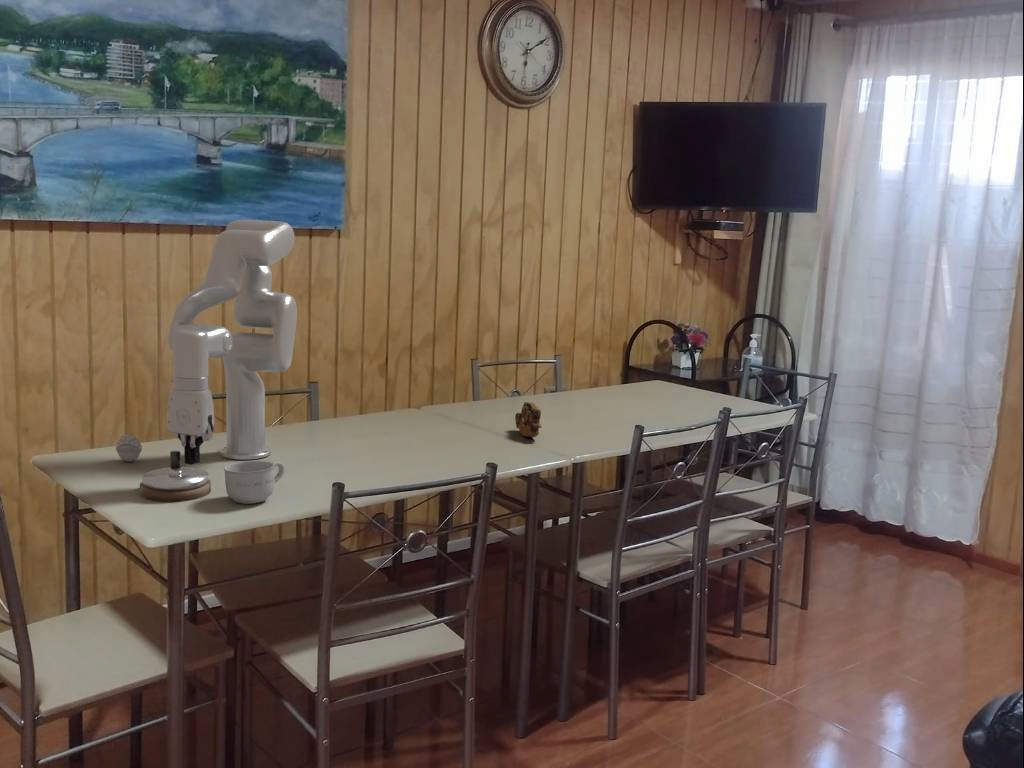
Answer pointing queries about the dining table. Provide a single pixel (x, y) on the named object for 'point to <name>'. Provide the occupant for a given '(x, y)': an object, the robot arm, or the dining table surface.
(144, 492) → the plinth
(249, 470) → the teacup
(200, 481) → the handwheel
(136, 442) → the grey lumpy ball
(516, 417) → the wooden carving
